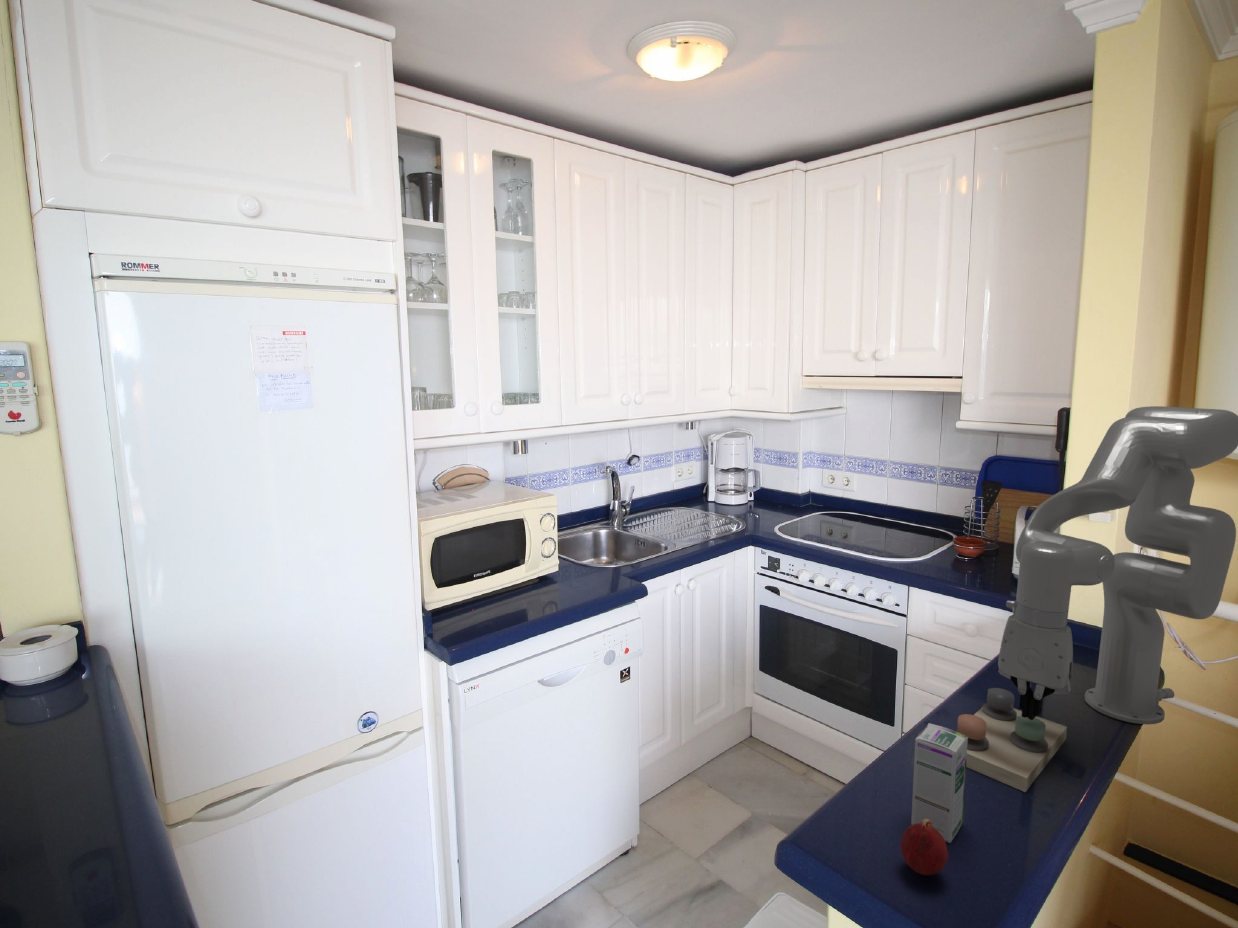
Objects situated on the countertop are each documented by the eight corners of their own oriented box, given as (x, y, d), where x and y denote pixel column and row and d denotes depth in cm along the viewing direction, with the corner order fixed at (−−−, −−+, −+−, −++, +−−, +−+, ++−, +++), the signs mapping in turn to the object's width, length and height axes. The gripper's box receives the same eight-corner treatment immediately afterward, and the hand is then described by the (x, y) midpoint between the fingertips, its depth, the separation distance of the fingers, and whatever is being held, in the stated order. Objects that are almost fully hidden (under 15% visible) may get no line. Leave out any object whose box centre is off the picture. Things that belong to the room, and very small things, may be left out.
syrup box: (951, 844, 94) (958, 752, 92) (908, 825, 98) (914, 736, 96) (963, 824, 98) (970, 735, 96) (921, 806, 102) (928, 720, 100)
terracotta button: (962, 722, 117) (963, 711, 117) (989, 732, 114) (990, 721, 114) (953, 731, 115) (953, 720, 114) (979, 742, 111) (980, 730, 111)
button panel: (988, 711, 129) (990, 696, 129) (1065, 739, 120) (1067, 723, 119) (942, 756, 115) (943, 739, 114) (1025, 792, 105) (1027, 774, 105)
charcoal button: (991, 695, 127) (992, 685, 126) (1017, 704, 123) (1018, 693, 123) (983, 703, 124) (984, 693, 123) (1008, 713, 121) (1009, 701, 120)
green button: (1019, 723, 117) (1020, 712, 117) (1047, 734, 114) (1049, 722, 113) (1011, 733, 114) (1012, 721, 114) (1039, 744, 111) (1040, 732, 110)
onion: (940, 897, 85) (944, 842, 84) (894, 876, 88) (897, 823, 87) (949, 869, 89) (954, 817, 88) (905, 851, 93) (908, 800, 92)
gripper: (984, 607, 113) (975, 706, 116) (1087, 634, 102) (1074, 742, 105) (1000, 598, 118) (990, 692, 121) (1099, 622, 107) (1086, 725, 110)
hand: (1029, 715), depth 113 cm, fingers closed
